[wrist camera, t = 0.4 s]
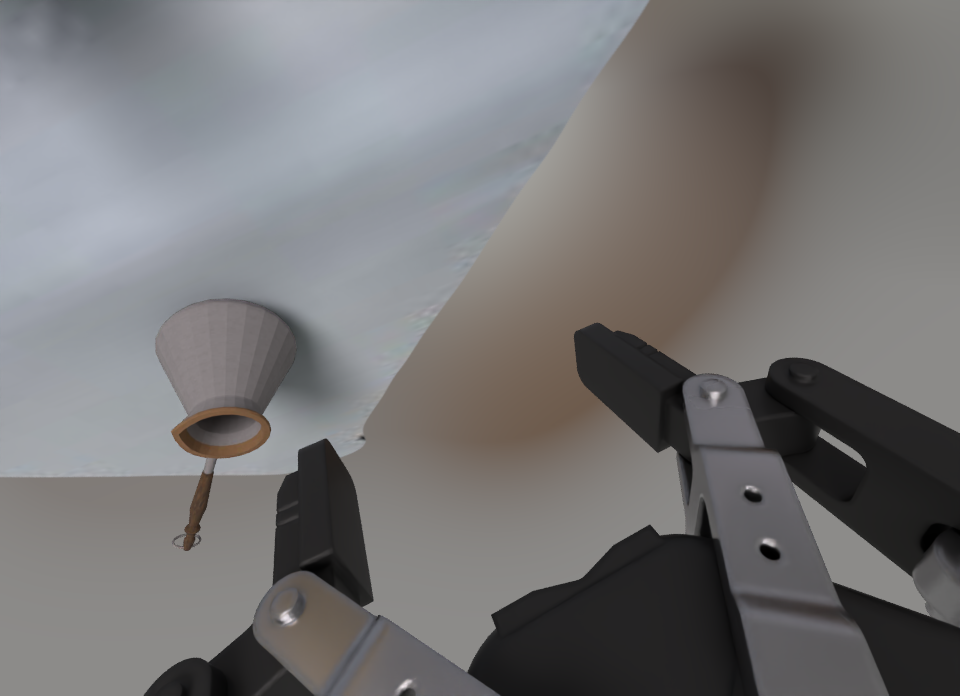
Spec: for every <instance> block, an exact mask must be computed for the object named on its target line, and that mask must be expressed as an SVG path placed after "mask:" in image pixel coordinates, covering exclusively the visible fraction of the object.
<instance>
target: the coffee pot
mask: <svg viewBox="0 0 960 696" xmlns="http://www.w3.org/2000/svg"><path fill="white" fill-rule="evenodd" d="M296 351H297V347H296V340H295V337H294V335H293V333H292V331H291V330H290V328H289V326H288V325H287V324H286V323H285V322H284V321H283V320H282V319H281V318H280V317H279V316H277V315H276V314H275V313H274V312H272V311H270V310H268V309H267V308H265V307H263V306H260V305H257V304H254V303H251V302H248V301H243V300H235V299H210V300H206V301H202V302H198V303H194V304H191V305H189V306H187V307H185V308H183V309H181V310H179V311H178V312H176V313H175V314H173V315H172V316H171V317H170V318H169V319H168V320H167V321H166V322H165V323H164V324H163V325H162V326H161V328H160V330H159V332H158V334H157V337H156V354H157V357H158V359H159V361H160V363H161V365H162V367H163V369H164V371H165V373H166V375H167V376H168V378H169V380H170V382H171V384H172V386H173V388H174V390H175V392H176V393H177V395H178V397H179V399H180V401H181V403H182V405H183V407H184V409H185V410H186V412H187V414H188V416H187V417H186V418H185V419H184V420H183V421H182V422H181V423H180V424H178V425H177V426H176V427H175V428H174V429H173V430H172V431H171V433H172V435H173V437H174V439H175V441H176V442H177V443H178V444H179V446H180V447H181V448H183V449H184V450H185V451H186V452H189V453H191V454H193V455H196V456H200V457H205V458H207V459H206V463H205V467H204V470H203V472H202V475H201V478H200V480H199V483H198V486H197V489H196V492H195V495H194V498H193V501H192V504H191V507H190V517H189V524H188V525H187V526H186V527H185V529H184V530H185V532H186V533H187V534H183V535H180V536H177V537H176V538H174V540H175V539H177V538H179V537H183V536H186V537H185V538H184V544H183V546H178V545H175V544H174V540H173V541H172V544H173V546H174V547H176V548H182V549H184V550H185V551H188V550H190V549H191V547H194V546H196V545H198V544H199V543H200V541H201V537H200V536H199V535H196V533H197V532H199V530H200V528H201V527H200V525H199V522H200V520H201V518H202V516H203V514H204V512H205V510H206V507H207V502H208V498H209V492H210V488H211V483H212V478H213V474H214V471H213V470H214V467H215V464H216V460H217V458H230V457H236V456H240V455H243V454H246V453H250V452H252V451H253V450H255V449H257V448H259V447H260V446H261V445H263V444H264V443H265V442H266V440H267V439H268V438H269V436H270V432H271V427H270V423H269V422H268V420H267V419H266V418H265V417H264V416H263V415H262V414H263V413H264V411H265V409H266V408H267V406H268V404H269V403H270V401H271V399H272V397H273V396H274V394H275V392H276V391H277V389H278V387H279V386H280V384H281V382H282V381H283V379H284V377H285V376H286V374H287V372H288V371H289V369H290V367H291V366H292V364H293V362H294V359H295V355H296ZM195 537H198V538H199V542H198V543H196V544H194V545H193V543H194V541H195Z"/></svg>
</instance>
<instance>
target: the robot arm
mask: <svg viewBox="0 0 960 696" xmlns="http://www.w3.org/2000/svg"><path fill="white" fill-rule="evenodd" d="M574 342H575V352H576V362H577V371H578V374H579V377H580V379H581V381H582V382H583V384H584V385H585V386H586V387H587V388H588V389H589V390H590V391H591V392H592V393H593V394H594V395H595V396H597V397H598V398H599V399H600V400H601V401H602V402H603V403H604V404H605V405H606V406H607V407H609V408H610V409H611V410H612V411H613V412H614V413H615V414H616V415H617V416H618V417H619V418H620V419H622V420H623V421H624V422H625V423H626V424H627V425H628V426H629V427H630V428H631V429H632V430H634V431H635V432H636V433H637V434H638V435H639V436H640V437H641V438H642V439H643V440H644V441H645V442H647V443H648V444H649V445H650V446H651V447H652V448H653V449H654V450H655V451H656V452H660V451H662V450H664V449H666V448H668V447H670V446H672V447H673V448H674V449H675V450H676V451H677V456H676V458H677V465H678V472H679V478H680V485H681V492H682V497H683V505H684V511H685V522H686V534H669V535H661V536H660V535H659V534H658V533H657V532H656V531H655V530H654V529H653V527H652V526H651V525H648V526H646V527H645V528H643V529H641V530H639V531H638V532H636V533H634V534H633V535H631V536H629V537H627V538H625V539H624V540H622V541H620V542H618V543H617V544H615V545H613V546H612V548H611V549H610V550H609V551H608V552H607V553H606V554H605V555H604V556H603V557H602V558H601V559H600V560H599V561H598V562H597V563H596V564H595V565H594V567H593V568H592V569H591V570H590V571H589V572H588V573H587V574H586V575H585V576H584V577H583V578H581V579H579V580H576V581H572V582H568V583H565V584H560V585H556V586H552V587H548V588H544V589H540V590H536V591H532V592H530V593H529V594H527V595H525V596H523V597H522V598H520V599H518V600H516V601H515V602H513V603H511V604H509V605H508V606H506V607H504V608H502V609H501V610H499V611H497V612H495V613H494V614H492V615H491V616H492V618H493V621H494V624H495V626H496V629H495V630H494V631H493V632H492V633H491V635H489V636H488V638H487V639H486V640H485V642H484V643H483V644H482V646H481V647H480V649H479V650H478V652H477V654H476V655H475V657H474V659H473V661H472V663H471V665H470V667H469V670H468V672H465V671H464V670H462V669H461V668H459V667H458V666H457V665H455V664H454V663H452V662H451V661H449V660H448V659H446V658H445V657H443V656H442V655H440V654H439V653H437V652H436V651H434V650H433V649H432V648H430V647H429V646H427V645H425V644H424V643H422V642H421V641H420V640H418V639H417V638H415V637H414V636H412V635H411V634H409V633H408V632H406V631H405V630H404V629H402V628H400V627H399V626H398V625H396V624H395V623H393V622H392V621H390V620H389V619H387V618H385V617H383V616H381V615H378V617H377V616H374V615H373V614H371V613H370V612H368V611H367V610H365V609H364V608H363V606H365V605H367V604H369V603H371V602H373V594H372V587H371V582H370V575H369V569H368V563H367V556H366V550H365V544H364V538H363V531H362V525H361V519H360V513H359V507H358V500H357V495H356V490H355V486H354V483H353V480H352V478H351V476H350V474H349V472H348V470H347V469H346V467H345V466H344V464H343V462H342V461H341V459H340V458H339V456H338V454H337V453H336V451H335V450H334V448H333V446H332V445H331V443H330V442H329V441H328V440H327V439H323V440H321V441H318V442H316V443H314V444H311V445H309V446H307V447H304V448H302V449H300V450H299V451H298V471H296V472H294V473H291V474H289V475H287V476H286V477H285V479H284V481H283V483H282V486H281V487H280V490H279V492H278V494H277V513H278V514H277V515H276V526H277V528H276V532H275V552H274V571H273V586H272V587H271V588H270V589H269V591H268V592H267V593H266V595H265V596H264V597H263V599H262V600H261V602H260V603H259V606H258V608H257V610H256V613H255V615H254V620H253V624H252V625H251V626H250V627H249V628H248V629H247V630H246V631H245V632H244V633H243V634H242V635H240V636H239V637H238V638H237V639H236V640H234V641H233V642H232V643H231V644H230V645H229V646H227V647H226V648H225V649H224V650H223V651H222V652H221V653H219V654H218V655H217V656H216V657H214V658H213V659H212V660H211V661H210V662H207V661H205V660H203V659H201V658H190V659H186V660H183V661H181V662H179V663H177V664H175V665H174V666H172V667H171V668H170V669H168V670H167V671H166V672H164V673H163V674H162V675H161V676H160V677H159V678H158V679H157V680H156V681H155V682H154V683H153V684H152V686H151V687H150V688H149V689H148V690H147V692H146V693H145V694H144V696H960V433H958V432H956V431H954V430H952V429H950V428H948V427H946V426H944V425H942V424H940V423H938V422H936V421H934V420H932V419H931V418H929V417H926V416H925V415H923V414H921V413H919V412H917V411H915V410H913V409H911V408H909V407H907V406H905V405H903V404H901V403H899V402H897V401H895V400H893V399H891V398H889V397H887V396H885V395H883V394H881V393H879V392H877V391H875V390H873V389H871V388H869V387H867V386H865V385H863V384H861V383H859V382H857V381H855V380H853V379H851V378H850V377H848V376H846V375H844V374H842V373H840V372H838V371H836V370H834V369H832V368H829V367H828V366H826V365H824V364H821V363H819V362H816V361H813V360H809V359H803V358H785V359H780V360H777V361H776V362H774V363H773V364H771V366H770V368H769V372H768V376H767V378H761V379H756V380H750V381H745V382H740V383H737V382H736V381H734V380H732V379H730V378H728V377H725V376H722V375H718V374H699V375H696V374H694V373H693V372H691V371H690V370H688V369H687V368H685V367H683V366H682V365H680V364H679V363H677V362H676V361H674V360H672V359H671V358H669V357H668V356H666V355H665V354H663V353H661V352H660V351H659V352H658V351H657V349H655V348H653V347H652V346H650V345H647V343H646V342H644V341H643V340H641V339H639V338H638V337H636V336H635V335H632V334H628V333H625V332H621V331H615V332H612V331H611V330H609V329H608V328H606V327H605V326H603V325H602V324H600V323H594V324H592V325H590V326H587V327H585V328H583V329H580V330H578V331H576V332H575V334H574ZM821 429H823V430H824V431H826V432H827V433H829V434H831V435H832V436H834V437H835V438H837V439H839V440H840V441H842V442H843V443H845V444H847V445H848V446H850V447H851V448H853V449H854V450H855V451H857V452H858V453H859V454H860V455H861V456H862V458H863V459H864V461H865V463H866V467H867V468H866V467H865V466H863V465H862V464H860V463H859V462H857V461H855V460H854V459H853V458H851V457H849V456H848V455H846V454H845V453H843V452H842V451H840V450H839V449H837V448H836V447H834V446H833V445H831V444H830V443H828V442H827V441H825V440H824V439H822V438H821V437H819V436H818V434H819V432H820V430H821ZM792 482H793V483H794V484H795V485H797V486H798V487H799V488H800V489H802V490H803V491H804V492H805V493H807V494H808V495H809V496H810V497H812V498H813V499H814V500H816V501H817V502H818V503H819V504H821V505H822V506H823V507H824V508H826V509H827V510H828V511H829V512H831V513H832V514H833V515H834V516H836V517H837V518H838V519H840V520H841V521H842V522H843V523H845V524H846V525H847V526H848V527H850V528H851V529H852V530H853V531H855V532H856V533H857V534H858V535H860V536H861V537H862V538H863V539H865V540H866V541H867V542H868V543H870V544H871V545H872V546H873V547H875V548H876V549H877V550H879V551H880V552H881V553H882V554H884V555H885V556H886V557H887V558H889V559H890V560H891V561H892V562H894V563H895V564H896V565H897V566H899V567H900V568H901V569H902V570H904V571H905V572H906V573H908V574H909V575H910V576H912V577H913V581H914V584H915V586H916V588H917V590H918V591H919V593H920V594H921V596H922V597H923V598H924V599H925V601H926V603H925V607H926V610H927V612H928V613H929V615H930V616H931V617H930V616H927V615H924V614H921V613H918V612H916V611H912V610H910V609H907V608H904V607H901V606H899V605H896V604H893V603H890V602H887V601H885V600H882V599H879V598H876V597H873V596H871V595H868V594H865V593H862V592H859V591H856V590H854V589H851V588H848V587H845V586H842V585H840V584H837V583H834V582H832V581H831V578H830V576H829V573H828V571H827V568H826V566H825V563H824V561H823V558H822V556H821V554H820V551H819V549H818V546H817V544H816V541H815V539H814V536H813V534H812V531H811V529H810V526H809V524H808V521H807V519H806V516H805V514H804V512H803V509H802V506H801V504H800V501H799V500H798V497H797V494H796V492H795V489H794V487H793V484H792Z"/></svg>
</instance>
